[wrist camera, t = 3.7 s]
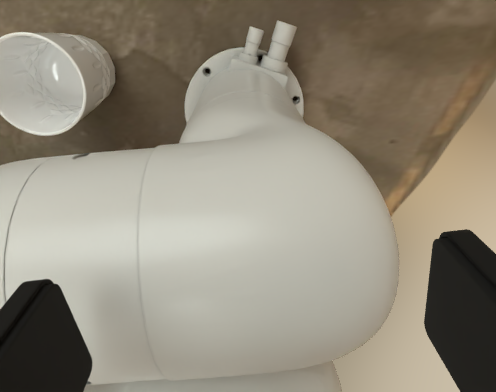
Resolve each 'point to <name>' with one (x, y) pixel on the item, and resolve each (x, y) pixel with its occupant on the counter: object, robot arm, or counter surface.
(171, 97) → the counter surface
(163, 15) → the counter surface
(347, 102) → the counter surface
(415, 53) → the counter surface
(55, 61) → the white cup
